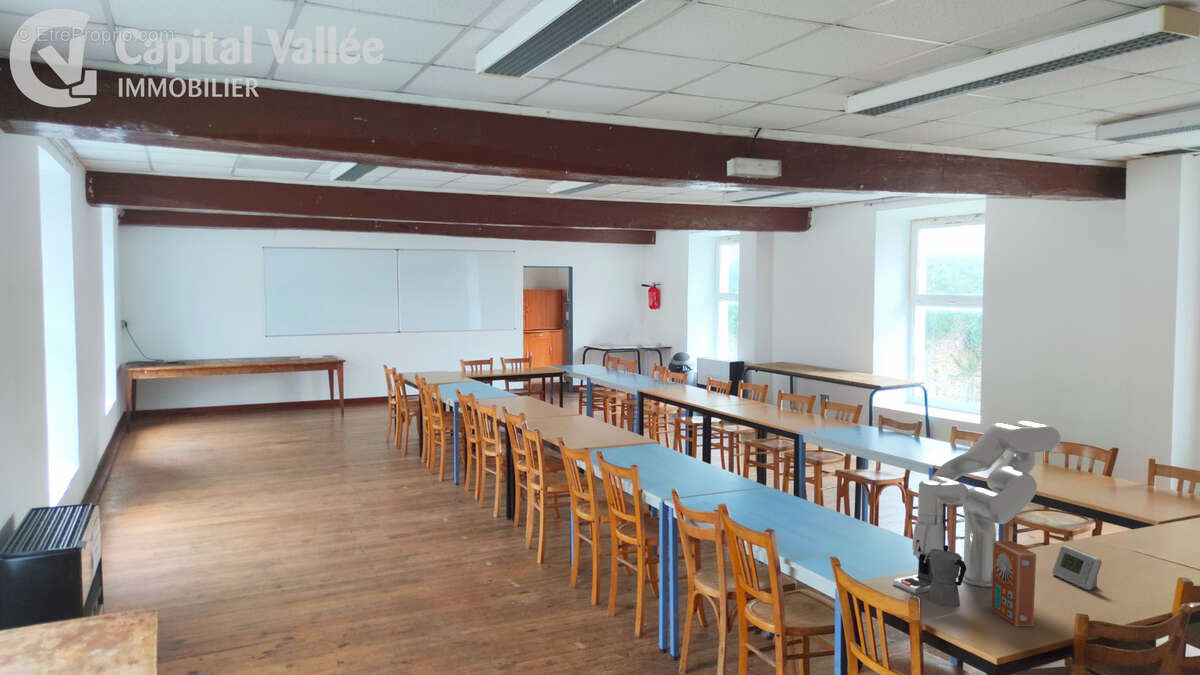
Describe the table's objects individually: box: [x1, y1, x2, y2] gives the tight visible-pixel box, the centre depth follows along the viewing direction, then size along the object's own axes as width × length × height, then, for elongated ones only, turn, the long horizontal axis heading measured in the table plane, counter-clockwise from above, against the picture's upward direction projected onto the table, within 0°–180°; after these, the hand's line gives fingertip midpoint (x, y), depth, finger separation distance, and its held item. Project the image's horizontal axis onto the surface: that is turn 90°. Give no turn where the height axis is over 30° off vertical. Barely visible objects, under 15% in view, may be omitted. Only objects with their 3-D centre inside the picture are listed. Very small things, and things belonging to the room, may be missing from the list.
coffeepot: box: [927, 544, 966, 607], centre depth 239 cm, size 15×9×18 cm, turn 14°
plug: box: [917, 554, 933, 583], centre depth 254 cm, size 4×5×8 cm
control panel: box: [990, 540, 1037, 627], centre depth 228 cm, size 21×7×15 cm
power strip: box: [892, 573, 931, 595], centre depth 253 cm, size 16×9×2 cm, turn 117°
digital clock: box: [1052, 545, 1102, 591], centre depth 258 cm, size 16×9×11 cm, turn 0°
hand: (927, 572), depth 254 cm, fingers closed on plug, 3 cm apart
